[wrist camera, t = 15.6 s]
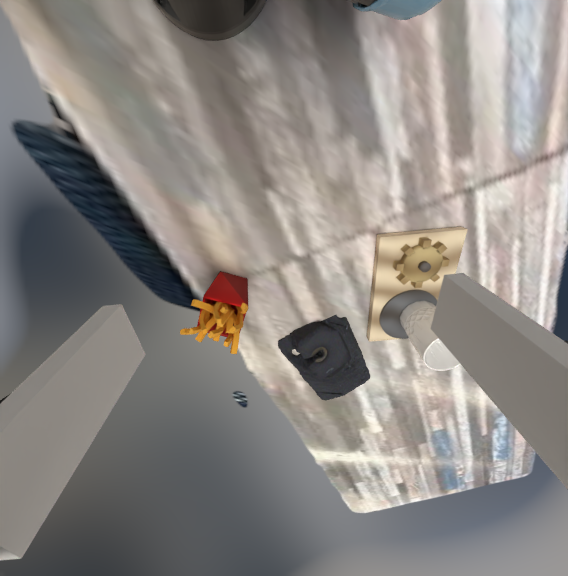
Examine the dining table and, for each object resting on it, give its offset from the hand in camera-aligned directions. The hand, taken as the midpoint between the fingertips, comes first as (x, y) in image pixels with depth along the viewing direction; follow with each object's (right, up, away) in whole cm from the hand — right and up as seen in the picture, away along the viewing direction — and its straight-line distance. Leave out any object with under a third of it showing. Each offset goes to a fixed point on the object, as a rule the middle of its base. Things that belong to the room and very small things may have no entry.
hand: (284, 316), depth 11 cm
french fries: (-10, +3, +35) cm, 36 cm away
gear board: (+23, +1, +37) cm, 44 cm away
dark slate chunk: (+9, -14, +46) cm, 49 cm away
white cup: (+25, -4, +38) cm, 45 cm away
